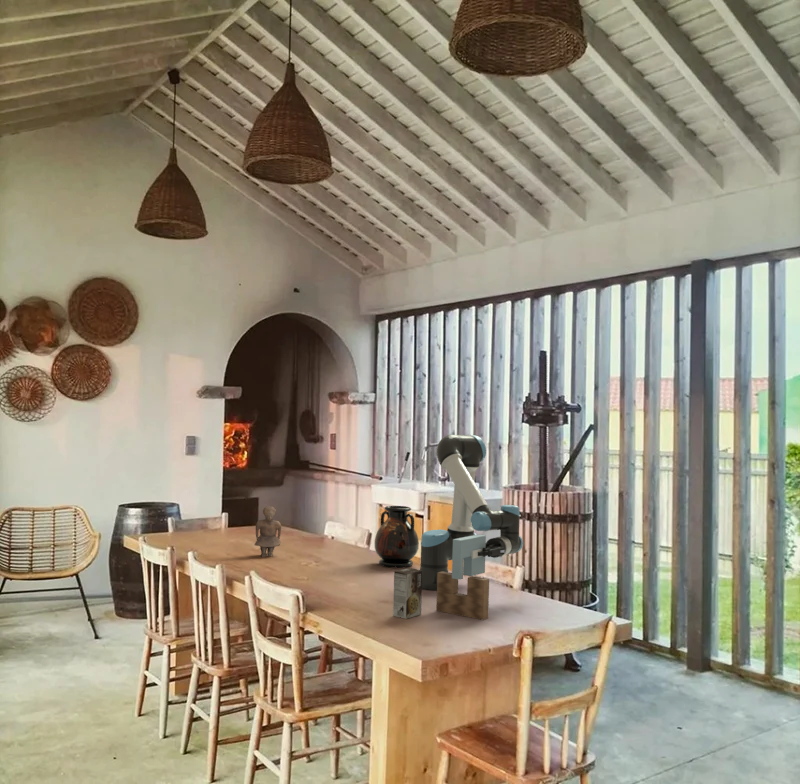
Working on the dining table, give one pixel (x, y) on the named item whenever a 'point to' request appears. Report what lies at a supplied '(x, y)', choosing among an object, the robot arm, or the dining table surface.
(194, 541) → the dining table surface
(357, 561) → the dining table surface
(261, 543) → the clay figurine
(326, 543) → the dining table surface
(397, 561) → the amphora vase
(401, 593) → the coffee box
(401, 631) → the dining table surface
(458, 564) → the light blue block
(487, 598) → the u-shaped checkered block
